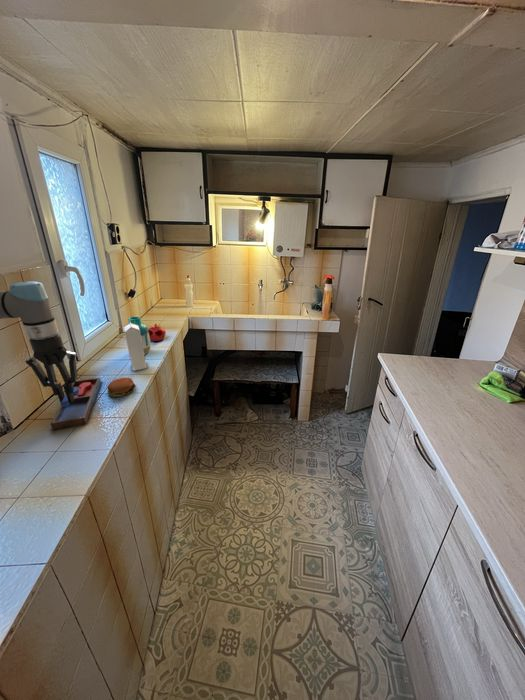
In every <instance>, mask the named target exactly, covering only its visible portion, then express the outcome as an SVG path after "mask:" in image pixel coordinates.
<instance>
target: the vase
mask: <svg viewBox="0 0 525 700" xmlns="http://www.w3.org/2000/svg"><path fill="white" fill-rule="evenodd" d="M127 321H128V324H130V323H132V324H135V325H137V326H138V327H139V330H140V335H141V340H142V345H143V351H144V355H146V354H148V353H149V352H150V350H151V340H150V336H149V332H148V329H149V328H148V326H147V324H146V323H144V322H143V321H142V319H141V317H140V316H139V315H133V316H130V317H128V319H127Z"/></svg>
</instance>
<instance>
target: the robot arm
mask: <svg viewBox="0 0 525 700" xmlns="http://www.w3.org/2000/svg"><path fill="white" fill-rule="evenodd" d="M8 287H9V288H8V289H9V290H0V320H3V319H18V318H20V320H21V323H22V326H23V328H24V330H25V334H26V336H27V338H29V339H28V341H29V343H30V346H31V349H32V351H33V354H32V356H29V357H28V358H27V359H26V360H25V364H26V365H28V366H29V367H30V368H31V369H32V371H33V372H34V374H35V376H36V377H37V379H38V381H39V382H40V384H41V385H42V387H44V388H46V387H50V388H51V390H52V392H53V395H54V396H57V397H58V399H59V402H60V405H62V403H61V402H62V400H63V399H64V397H65V393H66V396H67V398H68V401H69V403H72V402H73V400H74V397H73V394H72V393H73V391H74V387H73V384H72V383H74V382H75V381H78V371H77V361H76V358H77V355H78V352H77V351H69V350H68V349H67V348H66V347H65V346H64V342H63V339H62V336H61V334H60V333H59V332H60V330H59V328H58V324H57V321H56V319H55V316H54V313H53V310H52V307H51V303H50V300H49V296H48V294H47V291H46V288H45V286H44V284H43V283H42V282H39V281H20V282H19V281H18V282H14V283H12V284H10V285H9V286H8ZM65 357H67V360H68V367H69V371H68V368H67V366H66V364H65V360H64V359H65ZM41 363H42V364H43V367H44V369H45V370H44V369H43V367H42V365H41ZM54 365H55V367H56V368H57V370H58V371H59V374H60V376H61V378H62V380H63V383H64V384H63V386H62V384H61V382H59V381H58V380H57V375H56V371H55V368H54ZM45 371H46V372H45ZM58 382H59V383H58Z"/></svg>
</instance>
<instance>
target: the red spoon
mask: <svg viewBox="0 0 525 700" xmlns="http://www.w3.org/2000/svg"><path fill="white" fill-rule="evenodd" d="M79 387H80V391H79V394H78V397H82V396H85V394H86V392H87V390H89V389H90V388H91V387H92V386H91V383H90V382H84V383H82V384H80V385H79Z"/></svg>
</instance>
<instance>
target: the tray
mask: <svg viewBox="0 0 525 700" xmlns="http://www.w3.org/2000/svg"><path fill="white" fill-rule="evenodd" d="M84 382H90V383H91V386H92V387H91V388H90V389H89V390H87V392H86V394H85V396H82V397H78V395H76V396H74V400H73V402H72V403H70V405H69V406H68V407H63V406H62V405H61V404H60V405H59V407H58V409H57V411H56V413H55V414H54V416H53V418H52V420H51V422H50V426H51V429H52V430H53V431H54V430H60V429H65V428H70V427H71V428H72V427H77V426H82V425H87V423H88V420H89V417H90V415H91V412H92V409H93V407H94V404H95V401H96V398H97V396H98V393H99V390H100V388H101V385H102V380H101V377H100V376H99V377H93V378H85V379H77V380H76V381H75V382H74V383H72V384H73V387H77V388H78V390H79V391H80V387H79V385H80V384H82V383H84Z"/></svg>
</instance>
